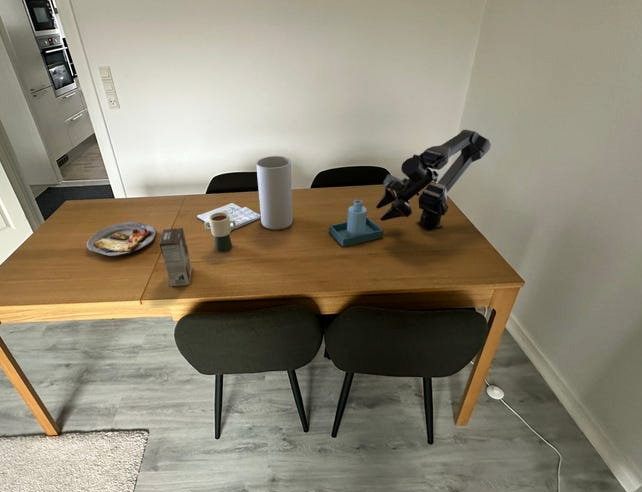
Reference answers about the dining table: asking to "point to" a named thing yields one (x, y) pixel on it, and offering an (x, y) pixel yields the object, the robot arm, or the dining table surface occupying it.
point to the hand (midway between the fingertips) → (378, 213)
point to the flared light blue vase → (356, 219)
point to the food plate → (121, 238)
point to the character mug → (221, 230)
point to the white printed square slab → (234, 214)
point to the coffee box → (176, 256)
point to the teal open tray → (341, 236)
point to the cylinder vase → (275, 192)
